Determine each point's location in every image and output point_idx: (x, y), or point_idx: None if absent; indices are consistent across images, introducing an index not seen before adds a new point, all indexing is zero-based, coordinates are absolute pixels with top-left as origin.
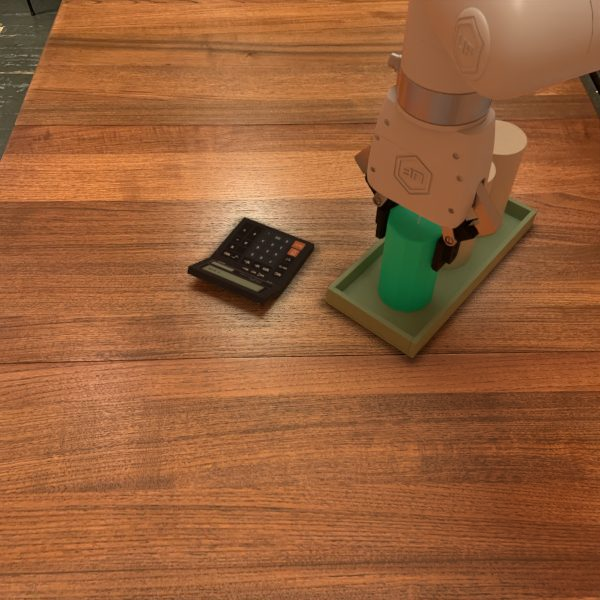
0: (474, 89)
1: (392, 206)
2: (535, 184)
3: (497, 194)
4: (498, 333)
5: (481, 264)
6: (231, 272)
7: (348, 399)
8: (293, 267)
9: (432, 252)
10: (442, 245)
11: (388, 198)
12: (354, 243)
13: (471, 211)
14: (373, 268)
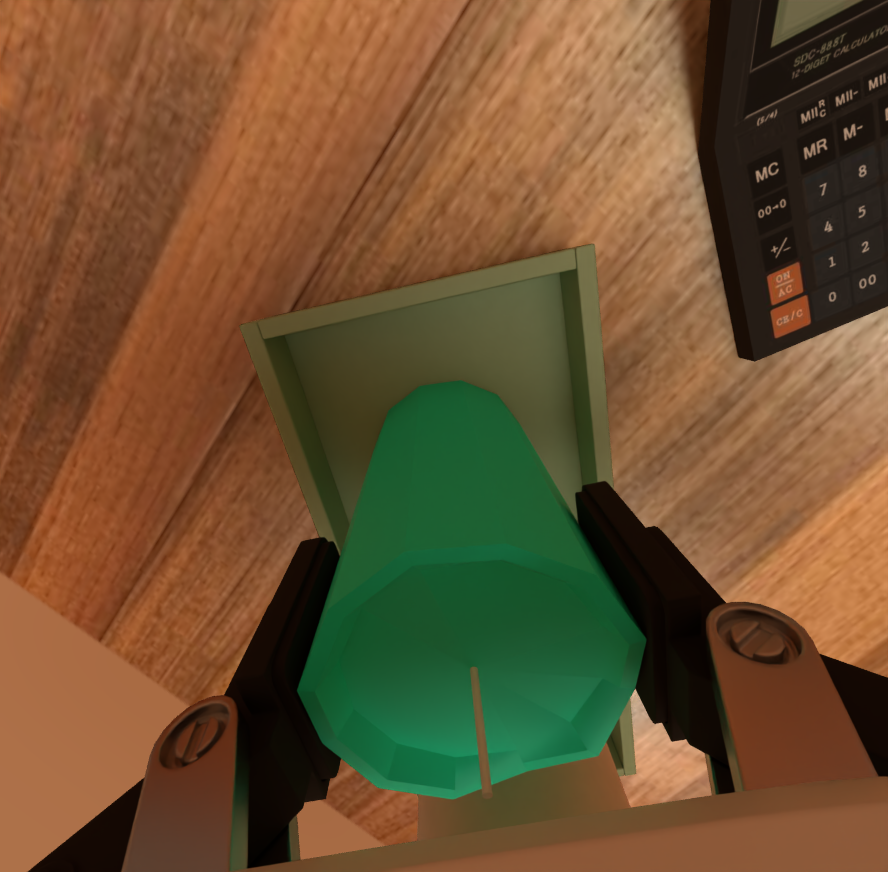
0: None
1: (652, 659)
2: None
3: None
4: (229, 535)
5: None
6: None
7: (237, 36)
8: (743, 240)
9: (327, 596)
10: (235, 674)
11: (715, 699)
12: (664, 459)
13: (423, 808)
14: (563, 438)
